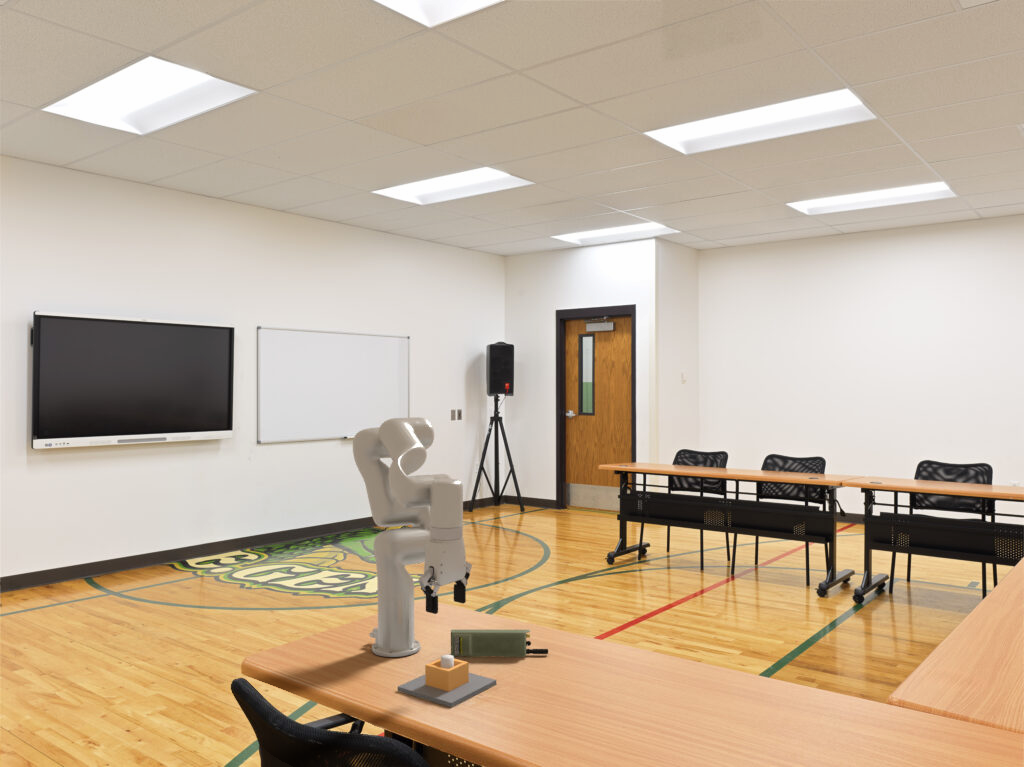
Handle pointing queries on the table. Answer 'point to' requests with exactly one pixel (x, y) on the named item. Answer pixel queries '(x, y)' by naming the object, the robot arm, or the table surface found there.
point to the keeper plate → (445, 697)
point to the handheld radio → (492, 643)
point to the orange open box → (446, 675)
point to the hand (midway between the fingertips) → (446, 607)
